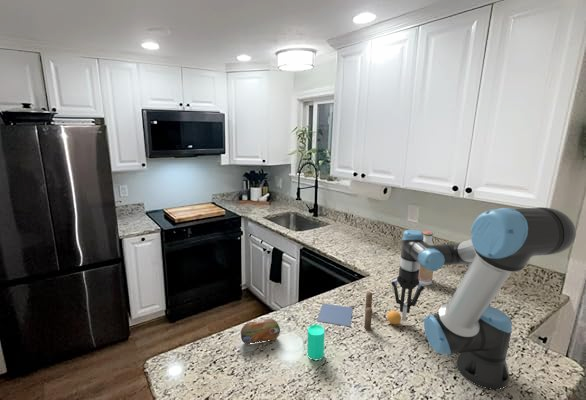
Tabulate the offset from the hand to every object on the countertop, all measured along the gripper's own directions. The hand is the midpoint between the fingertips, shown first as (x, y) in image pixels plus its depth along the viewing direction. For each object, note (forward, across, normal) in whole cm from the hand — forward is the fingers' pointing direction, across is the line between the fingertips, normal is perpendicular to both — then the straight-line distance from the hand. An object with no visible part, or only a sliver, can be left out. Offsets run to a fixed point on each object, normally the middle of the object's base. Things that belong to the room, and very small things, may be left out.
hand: (403, 318), depth 128 cm
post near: (+3, +14, +8) cm, 16 cm away
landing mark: (+3, +28, +2) cm, 29 cm away
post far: (+3, +15, -5) cm, 16 cm away
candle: (+2, +32, +29) cm, 43 cm away
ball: (0, +4, +1) cm, 4 cm away
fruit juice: (+4, -12, -42) cm, 44 cm away
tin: (+3, +54, +28) cm, 60 cm away
